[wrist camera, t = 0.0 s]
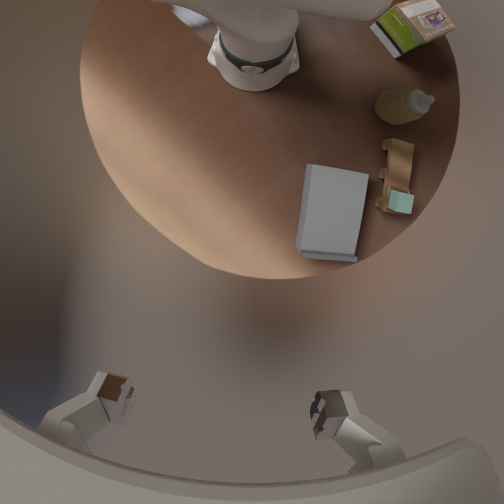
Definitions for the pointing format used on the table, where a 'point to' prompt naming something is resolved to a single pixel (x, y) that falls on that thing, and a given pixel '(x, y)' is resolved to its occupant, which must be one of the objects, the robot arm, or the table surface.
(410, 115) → the squeeze bottle
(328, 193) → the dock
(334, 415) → the robot arm
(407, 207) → the mint green cube
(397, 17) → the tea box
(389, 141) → the pallet
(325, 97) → the table surface
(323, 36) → the table surface
